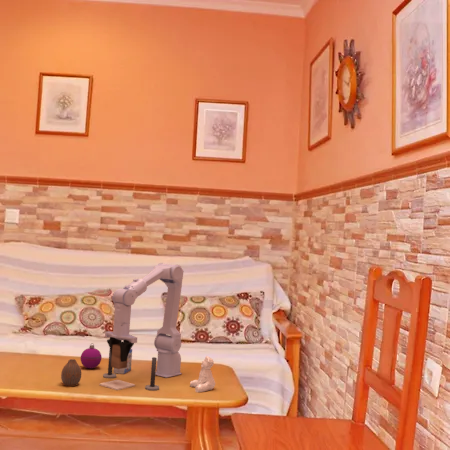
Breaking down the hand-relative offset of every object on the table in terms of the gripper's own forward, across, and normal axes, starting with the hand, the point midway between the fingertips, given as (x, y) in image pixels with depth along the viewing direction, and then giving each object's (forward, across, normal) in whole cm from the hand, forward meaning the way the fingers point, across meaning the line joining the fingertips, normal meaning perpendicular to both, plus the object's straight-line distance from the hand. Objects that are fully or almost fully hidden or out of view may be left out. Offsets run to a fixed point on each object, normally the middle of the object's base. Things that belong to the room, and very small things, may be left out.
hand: (119, 360), depth 203 cm
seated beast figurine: (+9, +23, +21) cm, 33 cm away
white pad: (+9, 0, 0) cm, 9 cm away
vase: (+9, -11, -12) cm, 19 cm away
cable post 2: (+9, +11, +6) cm, 16 cm away
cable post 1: (+9, -11, +6) cm, 16 cm away
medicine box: (+9, -14, +16) cm, 23 cm away
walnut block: (+3, 0, 0) cm, 3 cm away
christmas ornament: (+9, -26, +10) cm, 29 cm away
